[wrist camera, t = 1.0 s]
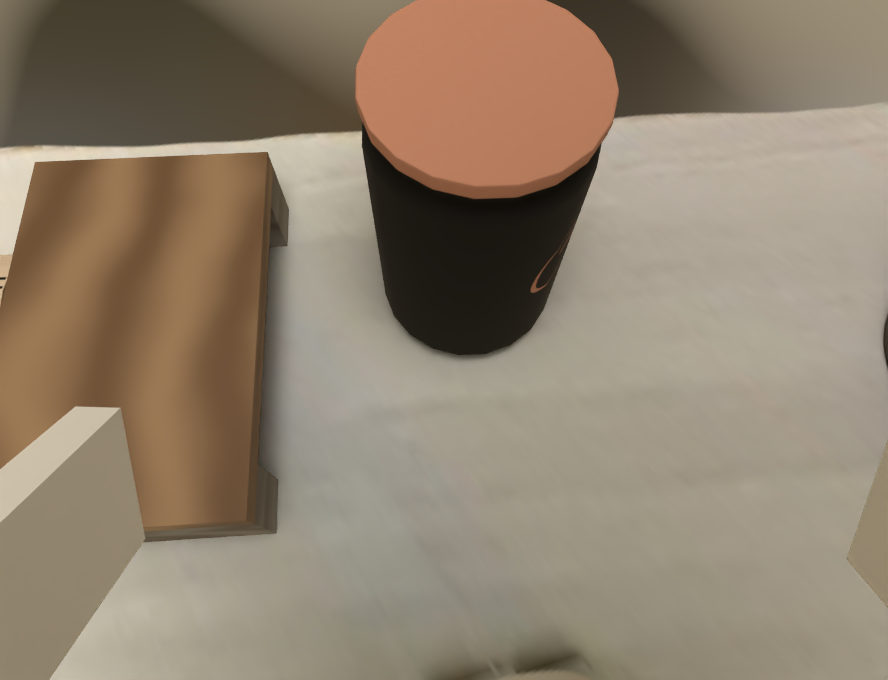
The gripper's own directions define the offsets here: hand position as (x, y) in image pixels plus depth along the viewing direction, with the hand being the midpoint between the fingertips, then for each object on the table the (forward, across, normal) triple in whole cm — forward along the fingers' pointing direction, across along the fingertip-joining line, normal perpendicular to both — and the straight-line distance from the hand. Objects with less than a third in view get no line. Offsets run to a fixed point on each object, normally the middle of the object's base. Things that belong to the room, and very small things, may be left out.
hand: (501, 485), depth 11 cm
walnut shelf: (+26, -18, -10) cm, 33 cm away
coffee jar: (+30, 0, -6) cm, 31 cm away
